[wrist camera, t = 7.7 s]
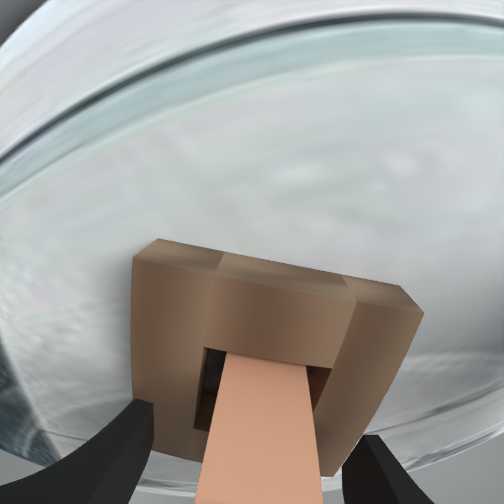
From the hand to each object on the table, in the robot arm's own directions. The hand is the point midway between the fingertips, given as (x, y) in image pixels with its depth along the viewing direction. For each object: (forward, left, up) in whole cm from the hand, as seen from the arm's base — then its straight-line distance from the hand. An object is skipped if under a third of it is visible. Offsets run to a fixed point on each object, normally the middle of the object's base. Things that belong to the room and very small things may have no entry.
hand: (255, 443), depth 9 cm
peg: (0, 0, -5) cm, 5 cm away
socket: (0, 0, -5) cm, 5 cm away
